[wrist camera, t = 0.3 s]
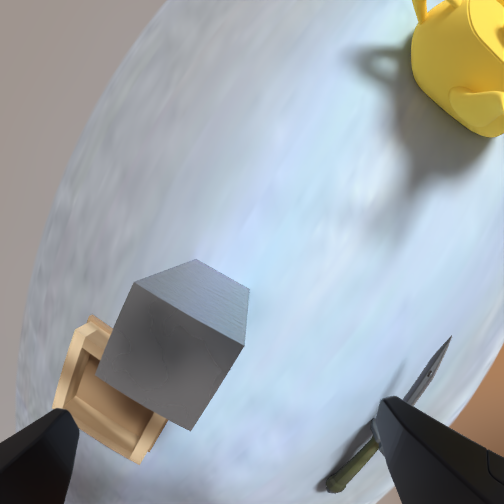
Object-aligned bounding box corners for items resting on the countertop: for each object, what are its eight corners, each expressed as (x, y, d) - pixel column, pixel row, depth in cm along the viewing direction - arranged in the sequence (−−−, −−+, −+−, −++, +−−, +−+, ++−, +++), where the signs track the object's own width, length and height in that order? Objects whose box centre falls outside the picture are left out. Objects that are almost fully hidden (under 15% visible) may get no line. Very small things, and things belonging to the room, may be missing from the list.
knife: (432, 321, 21) (463, 347, 16) (448, 329, 21) (479, 355, 16) (318, 474, 24) (323, 511, 19) (335, 477, 24) (341, 513, 19)
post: (220, 339, 22) (190, 431, 10) (169, 310, 22) (94, 374, 10) (249, 288, 22) (244, 345, 10) (196, 259, 22) (133, 281, 10)
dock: (150, 448, 23) (141, 468, 20) (65, 394, 23) (48, 407, 20) (192, 376, 23) (185, 395, 19) (92, 314, 22) (73, 323, 19)
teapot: (407, -21, 21) (440, -76, 10) (508, 57, 21) (557, 23, 10) (341, 94, 22) (390, 14, 11) (479, 198, 22) (566, 184, 11)
